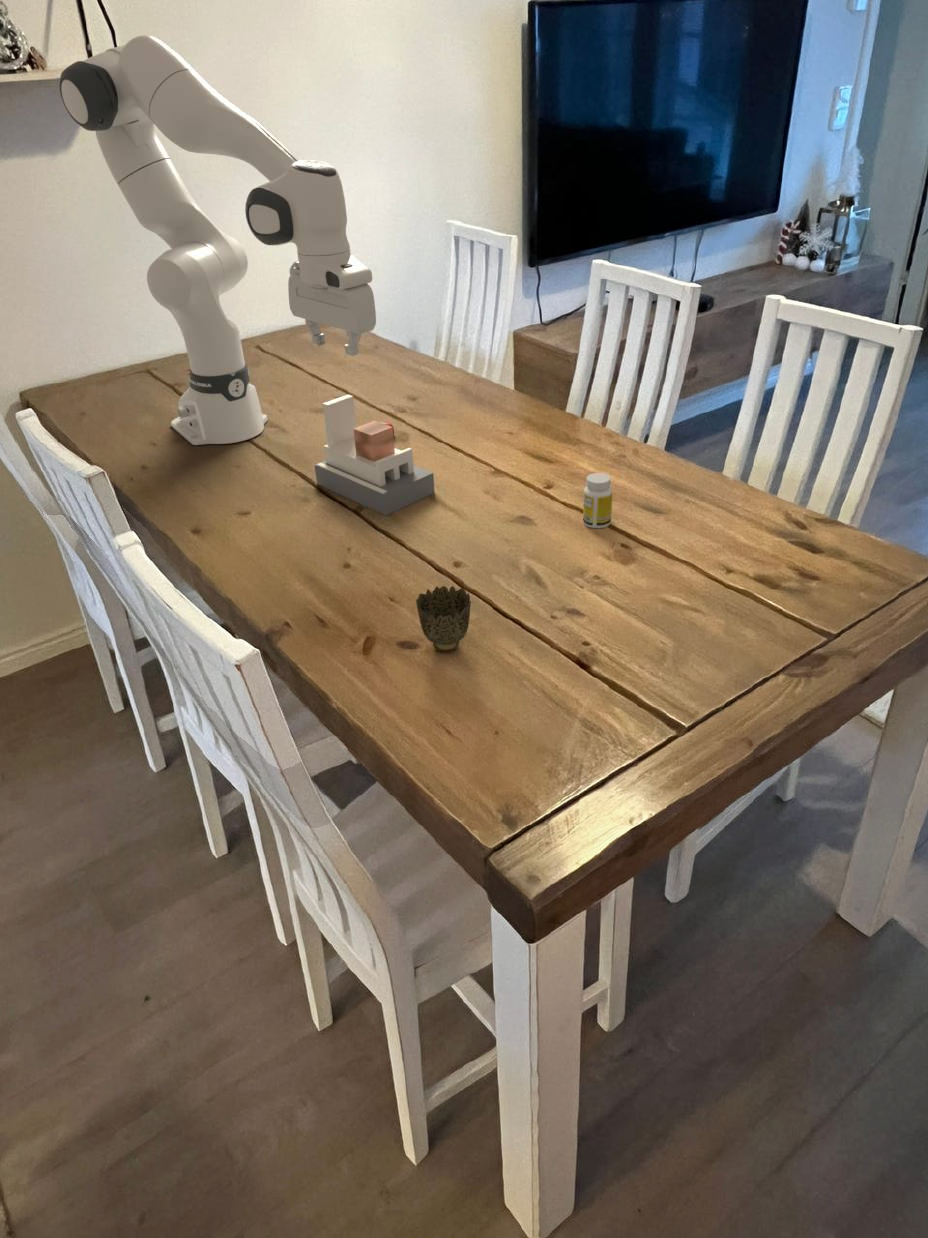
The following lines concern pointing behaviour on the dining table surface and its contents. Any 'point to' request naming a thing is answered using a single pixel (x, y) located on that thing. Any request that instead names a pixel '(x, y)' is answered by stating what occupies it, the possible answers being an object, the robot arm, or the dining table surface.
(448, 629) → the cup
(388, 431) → the reddish brown cube
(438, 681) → the dining table surface
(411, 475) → the block
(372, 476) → the white stand
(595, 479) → the supplement bottle
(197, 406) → the robot arm
